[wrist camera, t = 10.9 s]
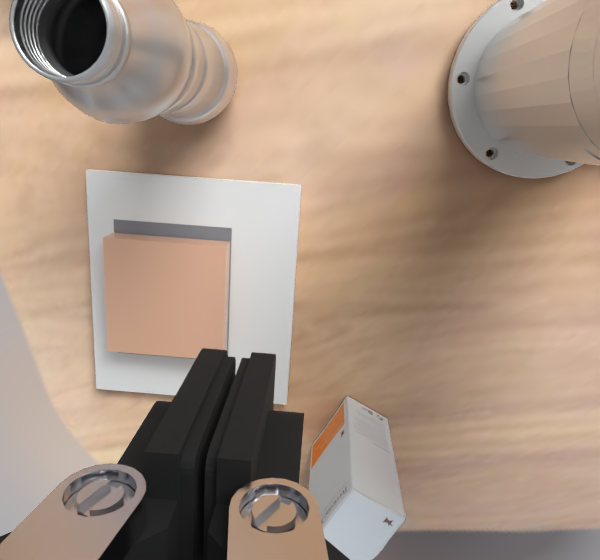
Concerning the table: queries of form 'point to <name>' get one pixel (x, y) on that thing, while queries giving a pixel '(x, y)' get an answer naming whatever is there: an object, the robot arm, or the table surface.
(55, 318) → the table surface
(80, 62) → the plastic bottle
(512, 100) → the robot arm
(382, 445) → the skincare box
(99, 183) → the mat
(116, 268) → the tile
